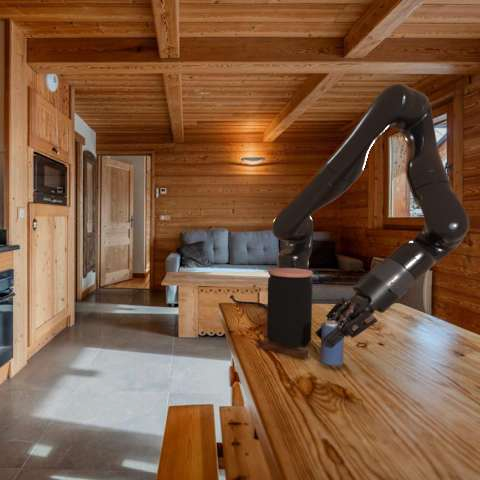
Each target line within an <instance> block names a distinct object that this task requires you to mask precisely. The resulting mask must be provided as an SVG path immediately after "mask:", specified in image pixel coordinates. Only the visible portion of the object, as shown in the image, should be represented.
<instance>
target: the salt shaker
mask: <svg viewBox="0 0 480 480" xmlns="http://www.w3.org/2000/svg"><path fill="white" fill-rule="evenodd" d="M339 324H340V322H338V321H330V320H329V321H327V320H324V322H321V325H320V328H321V339H320V362H321V363H322V364H325V365H328V366H333V367H334V366H335V367H337V366H342V365H343V364H344V343H345V337H344V338H343V339H342V340H340V341H339V342H338V343H337V344H336V345H335V346H334V347H333V348H330V347H329V346H328V345H327V344H326V343H325V342H324V341H323V340H324V338H325V337H326V336H328V335H329V334H330V333H331V332H332V331H333V330H334V329H335V328H336V329H337V327H338V325H339Z"/></svg>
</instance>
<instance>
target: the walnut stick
mask: <svg viewBox="0 0 480 480" xmlns="http://www.w3.org/2000/svg"><path fill="white" fill-rule="evenodd" d="M258 348H260V349H263V350H266V351H270V352H274V353H277V354H282V355H285V356H289V357H292V358H297V359H299V360H305V359H307V358H308V357H309V350H308V349H304V348H301V347H292V346H288V345H284V344H280V343H276V342H272V341H270V340H269V339H262V340H260V341H259V342H258Z"/></svg>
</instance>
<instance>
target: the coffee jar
mask: <svg viewBox="0 0 480 480" xmlns="http://www.w3.org/2000/svg"><path fill="white" fill-rule="evenodd" d="M267 272H268V275H269V277H268V279H267V304H268V306H267V307H268V309H266V311H267V313H266V315H267V317H266V319H267V320H266V337H267V338H268V341H272V342H276V343H280V344H284V345H288V346H292V347H296V348H302V347H303V348H304V347H306V346H308V345H309V343H310V342H311V340H312V323H313V322H312V321H313V288H314V287H313V281H312V279H311V278H312V277H313V275H314V271H312V270H311V269H308V270H305V269H297V268H277V267H273V268H269V269H268V270H267Z"/></svg>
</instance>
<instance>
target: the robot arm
mask: <svg viewBox="0 0 480 480" xmlns="http://www.w3.org/2000/svg"><path fill="white" fill-rule="evenodd" d="M388 128H391V129H393V130H397V131H398V132H399V133H400V134H401V136H402V138H403V139H404V141H405V143H406V147H407V159H406V163H405V176H406V181H407V184H408V187H409V190H410V193H411V196H412V199H413V201H414V203H415V205H417V207H419V208H420V210H421V213H422V215H423V218H424V227H423V228H422V229H421V230H420V231H419V233H417V234H416V235H415V236H414V237H412V239H411V240H409V241H406V242H403V243H402V244H400V245H399V246H398V247H397V248H396V249H394V250H393V251H392V252H391V253H390V254H388V256H386V257H385V258H384V259H383V260H382V261H380V262H378V263H377V264H376V265H375V266H373V268H372V269H371V270H369V271H368V272H367V273H366V274H365V275H363V277H362V278H361V279H360V280H358V281H357V282H356V283H355V284H354V285H353V287H352V288H353V291H354V292H355V295H353V296H352V297H350V298H349V299H347V300H346V299H345V297H340V299H339V300H338V301H337V302H336V303H335V305H334V306H333V307H332V308H331V309H330V310H329V312H328V313H327V314H326V316H325V317H326V318H327V319H326V321H329V320H330V321H338V322H340V324H339V325H338V327H337V329H336V328H335V329H334V330H333V331H332V332H331V333H330V334H329V335H328V336H326V337H325V338H324V340H323V341H324V342H325V343H326V344H327V345H328V346H329V347H330V348H333V347H334V346H335V345H336V344H337V343H338V342H339V341H340V340H342V339H343V338H344V339H345V338H348V337H350V338H352V339H353V338H355V337H356V336H357V337H358V335H361V334H362V333H363V332H364V331H365V330H367V329H368V328H370V327H371V326H373V325H374V324H376V323H377V322H378V319H377V318H376V317H375V316H374V313H375V312H378V313H380V314H384V313H385V312H386V311H388V309H390V308H391V307H392V306H393V305H394V304H395V303H396V302H397V301H398V300H399V299H401V298H402V296H404V295H405V294H406V293H407V292H408V291H409V290H410V289H411V288H412V287H413V285H414V284H415V283H416V282H417V281H418V280H419V279H421V277H423V276H424V275H425V274H426V273H427V272H428V271H429V270H430V269H431V268H432V267H433V266H434V265H435V264H436V263H437V264H438V262H439V261H441V260H442V259H444V258H445V257H447V256H448V255H449V254H450V253H452V252H453V251H454V250H455V249H457V247H458V246H460V244H461V243H463V241H464V239H465V237H466V235H467V233H468V232H469V229H470V219H469V215H468V213H467V210H466V209H465V206H464V205H463V203H462V202H461V200H460V199H459V197H458V196H457V194H456V193H455V192H454V190H453V186H452V183H451V181H450V179H449V176H448V173H447V171H446V168H445V166H444V163H443V160H442V157H441V153H440V151H439V146H438V142H437V136H436V130H435V125H434V116H433V111H432V105H431V102H430V99H429V97H428V96H427V95H426V94H425V93H424V92H421V91H420V90H418V89H415V88H412V87H410V86H407V85H405V84H401V83H394V84H391V85H388V86H387V87H386V88H384V89H383V90H381V92H380V93H379V94H378V95H377V96H375V98H374V100H372V102H371V103H370V104H369V106H368V108H367V109H366V111H365V112H364V114H363V115H362V116H361V118H360V119H359V120H358V122H357V124H356V125H355V126H354V128H353V129H352V131H351V132H350V133H349V134H348V135H347V137H346V138H345V139H344V140H343V141H342V143H341V144H340V145H339V146H338V147H337V149H336V150H335V152H333V154H332V155H331V156H329V158H328V159H327V160H325V162H324V164H322V166H321V167H320V168H319V169H318V171H317V172H316V173H315V174H314V175H313V177H312V178H311V179H310V180H309V181H308V182H307V183H306V184H305V186H304V187H303V188H302V189H301V190H300V192H299V193H298V194H297V195H296V196H295V197H294V198H293V199H292V200H290V202H289V203H288V204H287V205H286V206H285V207H283V209H281V210H280V211H279V212H278V214H276V216H275V217H274V219H273V221H272V224H271V232H272V234H273V236H274V238H276V239H277V240H279V241H283V242H287V243H286V246H285V248H284V249H283V250H281V251H280V252H279V253H277V259H276V260H277V261H276V262H277V263H276V264H277V266H276V268H297V269H305V270H309V264H310V263H309V262H310V257H311V255H312V252H313V242H314V241H313V240H314V238H313V237H314V222H313V219H312V217H311V215H313V214H314V213H315V212H317V211H318V210H319V209H321V208H323V207H325V206H327V205H328V204H330V203H332V202H333V201H335V200H337V199H338V198H340V197H341V196H343V195H344V194H345V193H346V192H347V191H348V190H349V189H350V188H351V187H352V186H353V185H354V183H356V182H357V180H358V179H359V178H360V177H361V175H362V173H363V171H364V168H365V165H366V161H367V158H368V154H369V151H370V149H371V147H372V146H373V144H374V143H375V141H376V140H377V139H378V138H379V137H380V135H382V133H384V132H385V130H387V129H388ZM229 299H230V300H232V301H233V302H234V303H235V304H241V305H255V306H261V307H263V308H264V309H266V310H267V309H268V303H267V305H266V304H264V303H262V302H258V301H257V302H256V301H243V300H237V299H236V298H235V296H234V294H231V295H230V296H229ZM315 335H316V336H317V337H318V338H319V339H320V340H321V327H320V328H319V329H317V330H316V331H315Z"/></svg>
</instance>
